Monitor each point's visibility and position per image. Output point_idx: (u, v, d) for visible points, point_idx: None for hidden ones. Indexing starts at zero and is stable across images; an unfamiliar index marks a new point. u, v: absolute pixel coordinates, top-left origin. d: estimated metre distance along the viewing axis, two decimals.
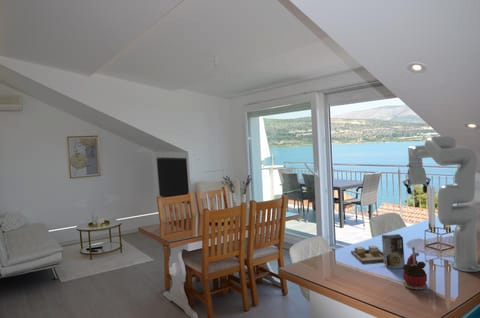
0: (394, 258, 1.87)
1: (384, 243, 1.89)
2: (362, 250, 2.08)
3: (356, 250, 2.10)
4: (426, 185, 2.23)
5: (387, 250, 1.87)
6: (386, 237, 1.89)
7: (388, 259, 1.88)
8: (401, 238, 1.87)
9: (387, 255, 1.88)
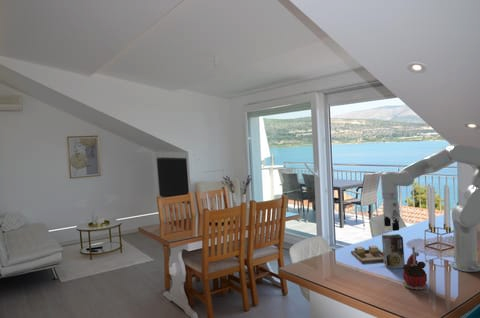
0: (394, 258, 1.87)
1: (384, 243, 1.89)
2: (362, 250, 2.08)
3: (356, 250, 2.10)
4: (389, 217, 1.95)
5: (387, 250, 1.87)
6: (386, 237, 1.89)
7: (388, 259, 1.88)
8: (401, 238, 1.87)
9: (387, 255, 1.88)
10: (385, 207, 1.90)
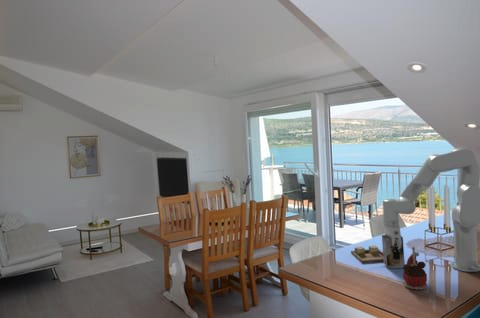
0: None
1: (384, 243, 1.89)
2: (362, 250, 2.08)
3: (356, 250, 2.10)
4: None
5: (387, 250, 1.87)
6: (386, 237, 1.89)
7: (388, 259, 1.88)
8: (401, 238, 1.87)
9: (387, 255, 1.88)
10: (387, 234, 1.90)
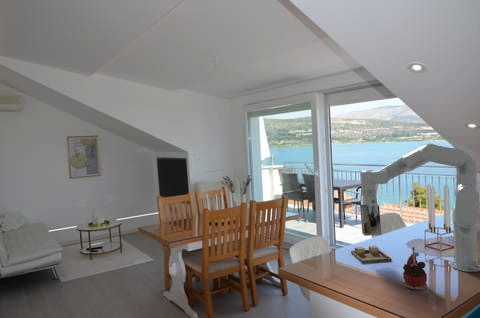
0: None
1: (362, 212, 1.98)
2: (362, 250, 2.08)
3: (356, 250, 2.10)
4: None
5: (364, 218, 1.97)
6: (363, 206, 1.98)
7: (365, 227, 1.97)
8: None
9: (364, 223, 1.97)
10: (364, 203, 2.00)
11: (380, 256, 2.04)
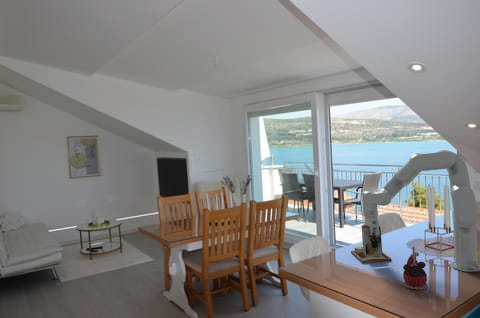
0: None
1: (363, 233, 1.99)
2: (362, 250, 2.08)
3: (356, 250, 2.10)
4: None
5: (366, 239, 1.98)
6: (365, 227, 1.99)
7: (367, 247, 1.98)
8: (379, 228, 1.97)
9: (366, 244, 1.98)
10: (366, 224, 2.01)
11: (380, 256, 2.04)
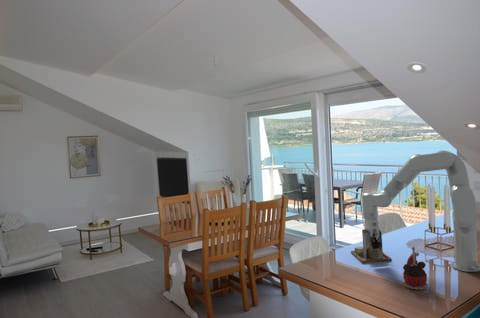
0: (373, 251, 1.97)
1: (364, 237, 1.99)
2: (362, 250, 2.08)
3: (356, 250, 2.10)
4: None
5: (366, 244, 1.98)
6: (366, 231, 1.99)
7: (367, 252, 1.98)
8: (380, 232, 1.97)
9: (366, 248, 1.98)
10: (366, 226, 2.01)
11: None
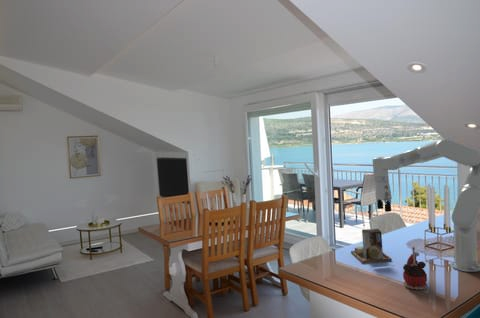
0: (373, 251, 1.97)
1: (364, 237, 1.99)
2: (362, 250, 2.08)
3: (356, 250, 2.10)
4: (381, 200, 2.06)
5: (366, 244, 1.98)
6: (365, 231, 1.99)
7: (367, 252, 1.98)
8: (379, 232, 1.97)
9: (366, 248, 1.98)
10: (377, 190, 2.01)
11: None
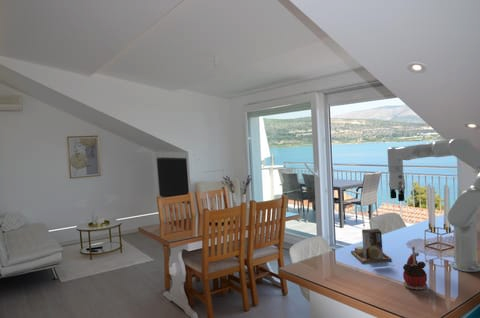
0: (373, 251, 1.97)
1: (364, 237, 1.99)
2: (362, 250, 2.08)
3: (356, 250, 2.10)
4: (395, 189, 2.08)
5: (366, 244, 1.98)
6: (365, 231, 1.99)
7: (367, 252, 1.98)
8: (379, 232, 1.97)
9: (366, 248, 1.98)
10: (391, 180, 2.03)
11: None
